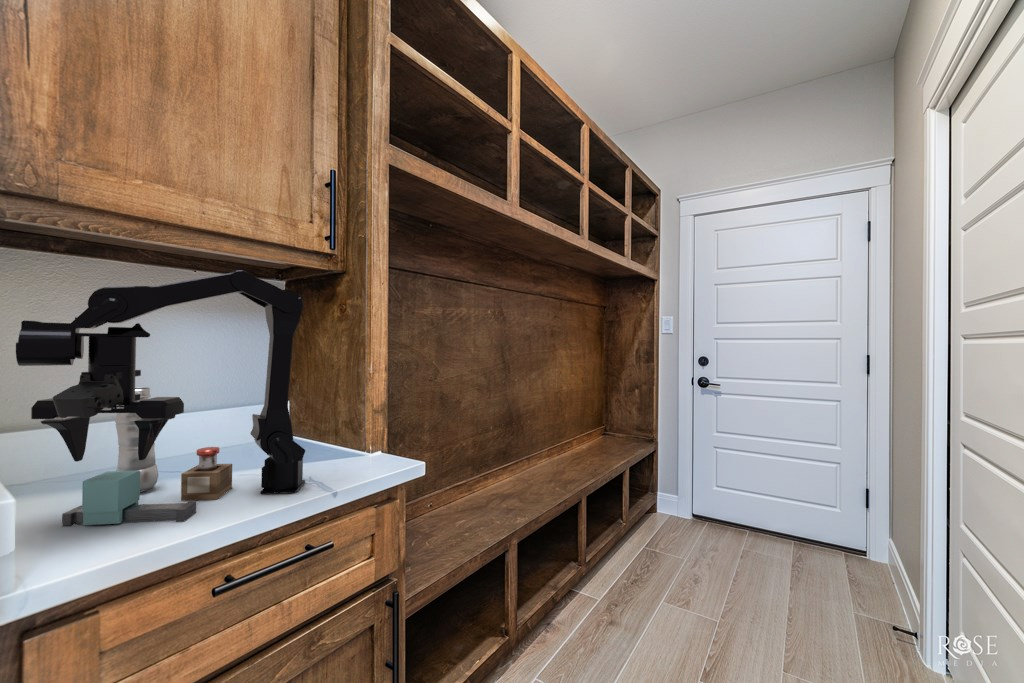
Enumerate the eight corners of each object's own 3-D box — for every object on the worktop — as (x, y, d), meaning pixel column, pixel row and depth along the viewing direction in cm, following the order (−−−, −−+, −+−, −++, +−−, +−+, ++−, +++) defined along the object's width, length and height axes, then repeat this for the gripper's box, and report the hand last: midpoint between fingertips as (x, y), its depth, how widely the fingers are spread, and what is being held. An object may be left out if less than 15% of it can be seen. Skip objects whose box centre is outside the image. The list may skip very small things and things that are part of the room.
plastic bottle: (166, 485, 88) (168, 386, 88) (139, 498, 81) (140, 390, 81) (133, 485, 88) (135, 386, 88) (103, 497, 81) (105, 390, 81)
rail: (196, 512, 75) (196, 501, 75) (183, 521, 72) (184, 509, 72) (80, 517, 72) (80, 505, 72) (62, 526, 69) (62, 514, 69)
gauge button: (222, 474, 86) (223, 446, 86) (213, 480, 82) (213, 451, 82) (202, 475, 85) (202, 447, 85) (192, 481, 82) (192, 451, 82)
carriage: (139, 511, 74) (140, 470, 74) (117, 524, 69) (118, 480, 69) (106, 513, 74) (106, 471, 74) (81, 525, 69) (82, 481, 69)
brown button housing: (231, 488, 87) (232, 463, 87) (215, 500, 81) (216, 473, 81) (198, 489, 86) (199, 464, 86) (179, 501, 80) (180, 474, 80)
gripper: (-5, 367, 62) (-7, 477, 62) (142, 369, 65) (140, 474, 65) (63, 363, 73) (61, 456, 73) (186, 364, 76) (184, 454, 76)
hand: (110, 460), depth 71 cm, fingers open, 9 cm apart
